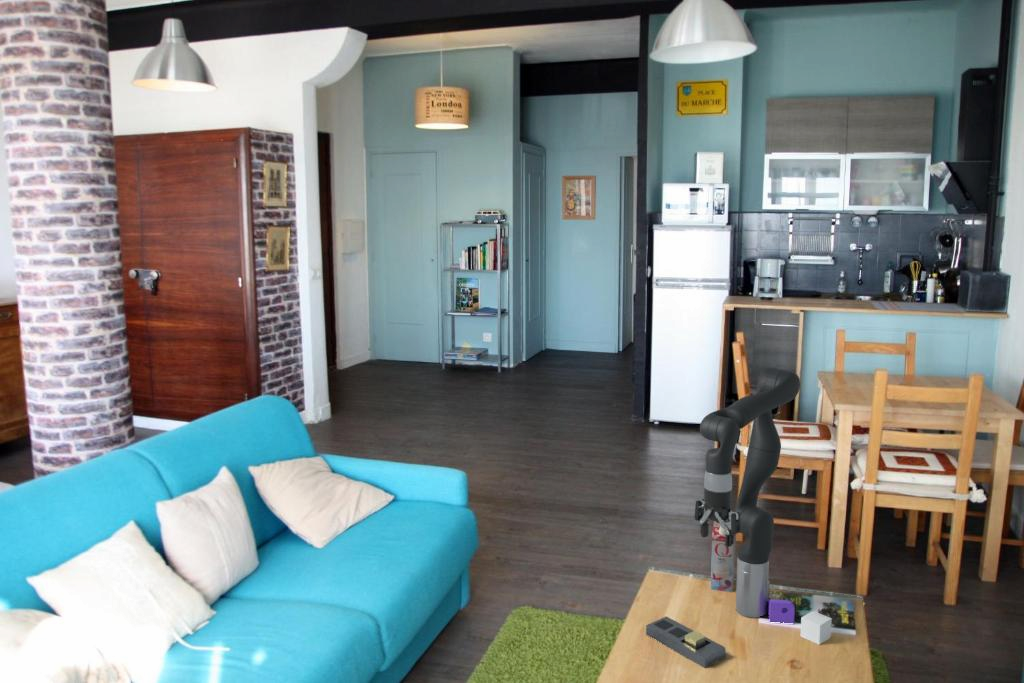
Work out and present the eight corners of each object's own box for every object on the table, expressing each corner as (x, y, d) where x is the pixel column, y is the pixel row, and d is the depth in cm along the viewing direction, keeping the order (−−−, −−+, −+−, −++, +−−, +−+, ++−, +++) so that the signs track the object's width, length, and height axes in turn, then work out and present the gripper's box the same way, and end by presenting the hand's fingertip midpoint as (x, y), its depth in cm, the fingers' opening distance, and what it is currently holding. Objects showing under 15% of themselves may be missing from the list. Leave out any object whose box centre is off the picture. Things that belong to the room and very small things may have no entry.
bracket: (793, 625, 251) (794, 604, 250) (769, 623, 252) (770, 602, 251) (788, 605, 263) (789, 585, 261) (765, 604, 264) (766, 583, 263)
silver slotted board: (666, 625, 252) (666, 615, 251) (725, 657, 234) (725, 647, 234) (646, 634, 247) (646, 625, 246) (704, 668, 229) (705, 657, 229)
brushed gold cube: (693, 646, 240) (693, 630, 239) (706, 653, 236) (706, 637, 235) (683, 651, 238) (683, 634, 237) (696, 658, 234) (696, 641, 233)
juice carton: (731, 592, 271) (733, 527, 267) (710, 589, 274) (712, 524, 270) (734, 583, 277) (736, 519, 273) (713, 580, 280) (715, 517, 276)
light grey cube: (800, 636, 244) (801, 617, 243) (811, 629, 248) (812, 610, 247) (819, 645, 240) (820, 625, 239) (830, 637, 243) (831, 618, 242)
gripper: (747, 490, 231) (745, 546, 234) (707, 476, 243) (705, 530, 246) (729, 496, 227) (728, 553, 230) (689, 482, 238) (688, 536, 241)
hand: (716, 541), depth 238 cm, fingers open, 8 cm apart
